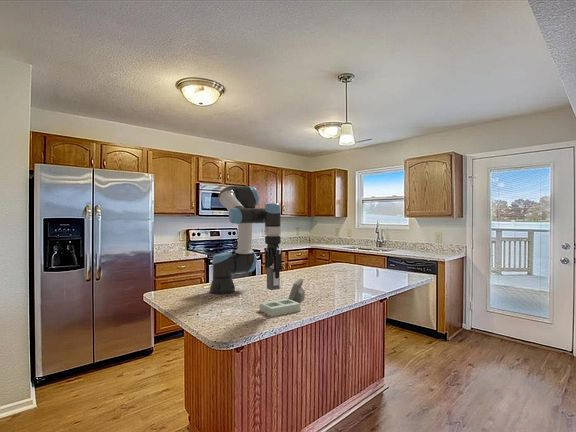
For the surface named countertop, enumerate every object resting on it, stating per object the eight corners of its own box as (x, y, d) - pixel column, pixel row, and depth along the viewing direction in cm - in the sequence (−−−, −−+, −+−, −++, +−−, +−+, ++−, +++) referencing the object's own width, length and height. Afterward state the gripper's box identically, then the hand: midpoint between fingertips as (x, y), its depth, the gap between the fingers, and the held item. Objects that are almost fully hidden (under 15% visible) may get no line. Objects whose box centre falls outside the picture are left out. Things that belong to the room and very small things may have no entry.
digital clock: (295, 295, 186) (295, 277, 186) (309, 297, 182) (309, 278, 182) (282, 302, 172) (282, 282, 172) (297, 304, 168) (297, 284, 168)
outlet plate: (259, 310, 158) (259, 303, 158) (286, 305, 166) (286, 298, 166) (271, 316, 148) (271, 308, 148) (300, 310, 156) (300, 303, 156)
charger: (266, 288, 155) (266, 265, 155) (274, 287, 158) (274, 264, 158) (271, 290, 151) (271, 266, 152) (279, 289, 154) (279, 265, 154)
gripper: (257, 235, 160) (257, 282, 160) (275, 236, 145) (276, 288, 145) (270, 234, 164) (270, 280, 164) (289, 236, 150) (289, 286, 149)
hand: (273, 284), depth 155 cm, fingers closed on charger, 4 cm apart
